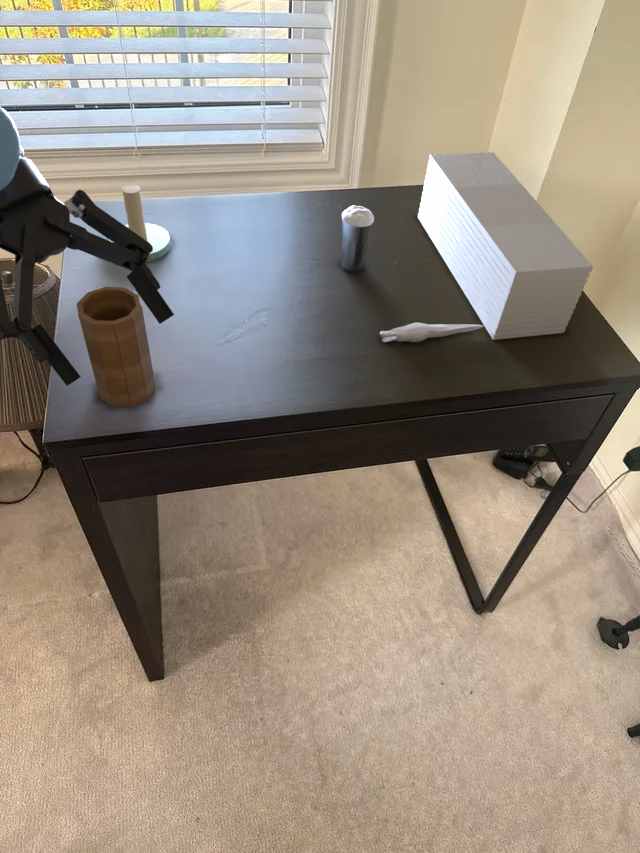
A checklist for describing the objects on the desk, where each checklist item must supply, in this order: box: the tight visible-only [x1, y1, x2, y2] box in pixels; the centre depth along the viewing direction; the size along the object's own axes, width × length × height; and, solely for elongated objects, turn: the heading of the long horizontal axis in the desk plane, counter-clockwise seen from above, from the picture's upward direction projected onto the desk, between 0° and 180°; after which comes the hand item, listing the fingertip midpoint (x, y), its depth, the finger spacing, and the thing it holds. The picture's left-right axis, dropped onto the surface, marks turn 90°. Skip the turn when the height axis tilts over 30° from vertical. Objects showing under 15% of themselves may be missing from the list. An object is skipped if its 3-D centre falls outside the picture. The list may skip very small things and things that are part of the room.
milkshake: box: [337, 204, 375, 273], centre depth 92 cm, size 4×5×10 cm
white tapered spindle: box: [379, 322, 485, 343], centre depth 86 cm, size 15×3×2 cm, turn 103°
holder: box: [107, 184, 172, 263], centre depth 93 cm, size 9×9×9 cm
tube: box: [76, 286, 157, 408], centre depth 71 cm, size 6×7×12 cm
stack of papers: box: [417, 151, 594, 341], centre depth 94 cm, size 32×11×11 cm, turn 13°
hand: (123, 349), depth 71 cm, fingers open, 13 cm apart
